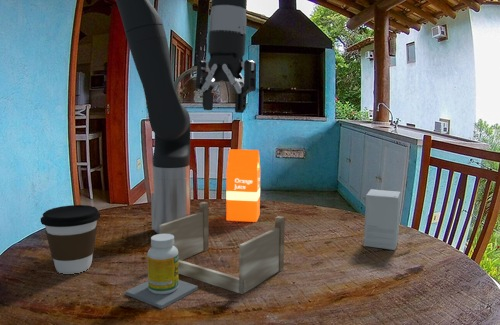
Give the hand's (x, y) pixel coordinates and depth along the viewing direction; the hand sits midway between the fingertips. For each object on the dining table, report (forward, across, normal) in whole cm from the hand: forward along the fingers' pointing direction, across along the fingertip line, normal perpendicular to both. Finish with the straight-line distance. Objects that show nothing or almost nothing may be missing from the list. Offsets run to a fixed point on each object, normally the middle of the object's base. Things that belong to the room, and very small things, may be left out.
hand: (223, 111), depth 89 cm
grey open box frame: (+32, +5, -4) cm, 32 cm away
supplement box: (+30, +26, +31) cm, 50 cm away
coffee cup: (+34, -18, -23) cm, 44 cm away
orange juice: (+31, -14, +28) cm, 44 cm away
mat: (+32, +4, -19) cm, 38 cm away
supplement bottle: (+32, +4, -19) cm, 37 cm away
